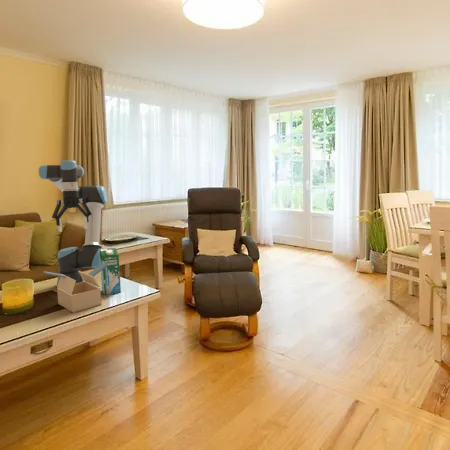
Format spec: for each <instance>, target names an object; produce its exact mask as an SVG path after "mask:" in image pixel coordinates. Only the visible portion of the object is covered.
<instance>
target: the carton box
mask: <svg viewBox="0 0 450 450" xmlns="http://www.w3.org/2000/svg"><path fill="white" fill-rule="evenodd" d="M56 288H57V289H56V291H57V292H56V293H57V302H58V305H59V306H61V307H63V308H64V309H66V310H67V311H69V312H70V313H72V314H74V313H77V312H81V311H85V310H89V309H91V308H95V307H98V306H101V305H102V299H101V296H102V295H101V288H100V287H97V286H95V285H93V284H91V283H88V282H86V281H83V282H81V283H76V284H75V285H74V288H73V291H72V294H70V293H68V292H66V291H64V290H62V289H61V288H58V287H56Z"/></svg>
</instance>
